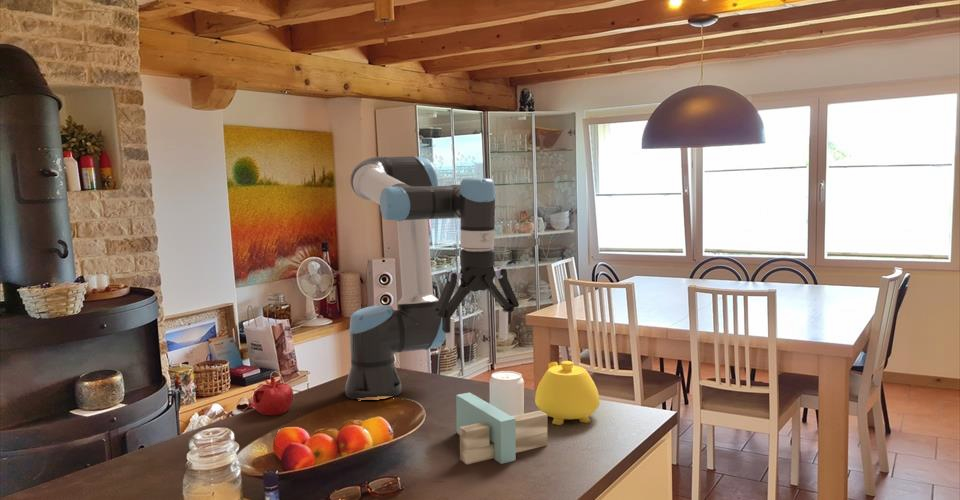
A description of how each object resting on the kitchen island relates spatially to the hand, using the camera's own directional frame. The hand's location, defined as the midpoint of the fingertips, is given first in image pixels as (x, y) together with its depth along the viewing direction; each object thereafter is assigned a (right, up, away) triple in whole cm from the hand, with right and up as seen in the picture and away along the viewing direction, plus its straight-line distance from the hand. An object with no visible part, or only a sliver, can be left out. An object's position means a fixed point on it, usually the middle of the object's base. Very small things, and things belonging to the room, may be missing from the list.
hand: (477, 342), depth 156 cm
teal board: (+2, -22, -3) cm, 23 cm away
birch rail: (+6, -23, -7) cm, 24 cm away
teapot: (+22, -20, +16) cm, 34 cm away
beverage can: (+7, -21, +9) cm, 24 cm away
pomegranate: (-52, -20, +20) cm, 59 cm away
